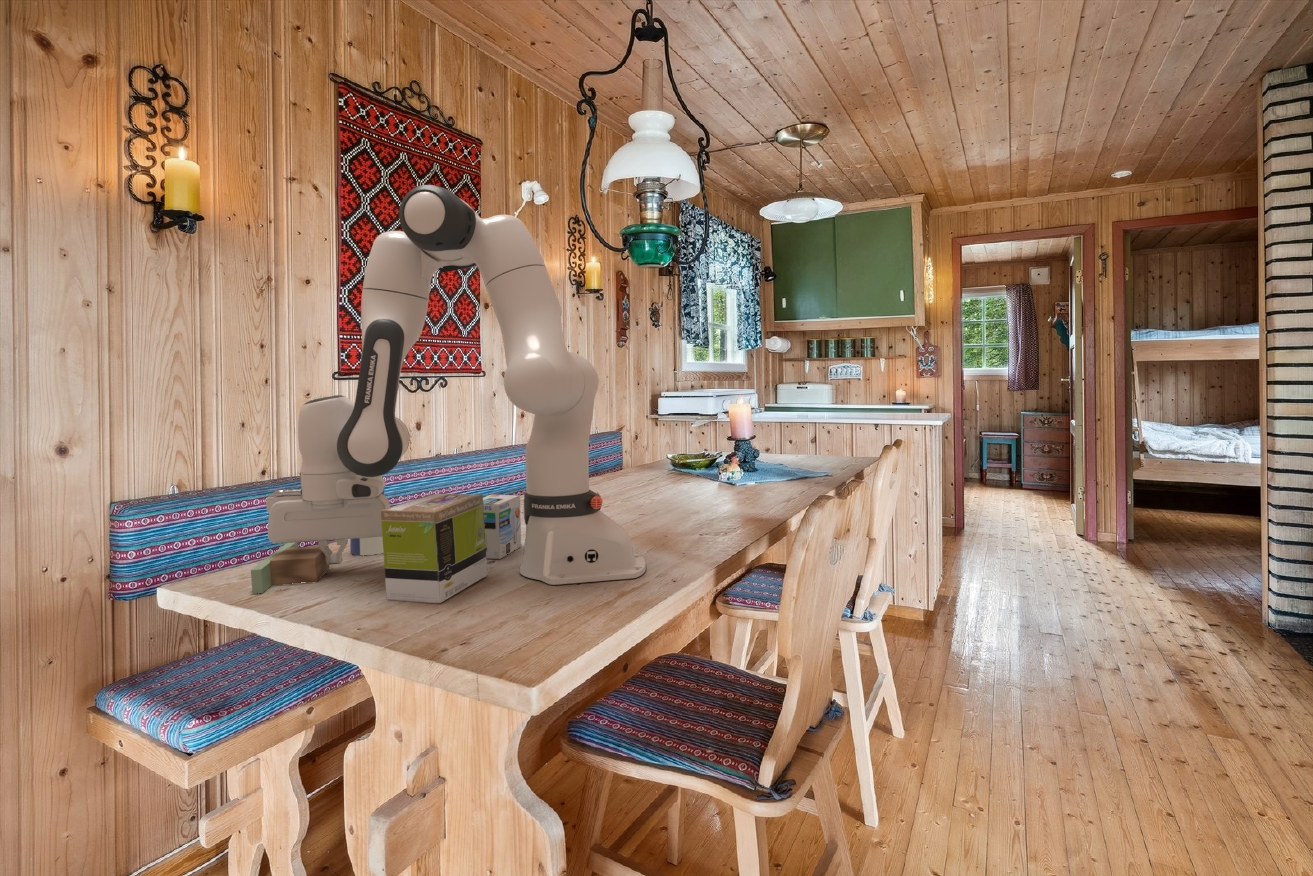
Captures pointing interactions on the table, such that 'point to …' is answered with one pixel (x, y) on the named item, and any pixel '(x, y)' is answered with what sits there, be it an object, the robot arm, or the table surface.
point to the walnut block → (298, 565)
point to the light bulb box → (501, 525)
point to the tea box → (433, 547)
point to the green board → (266, 571)
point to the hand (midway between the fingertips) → (334, 563)
